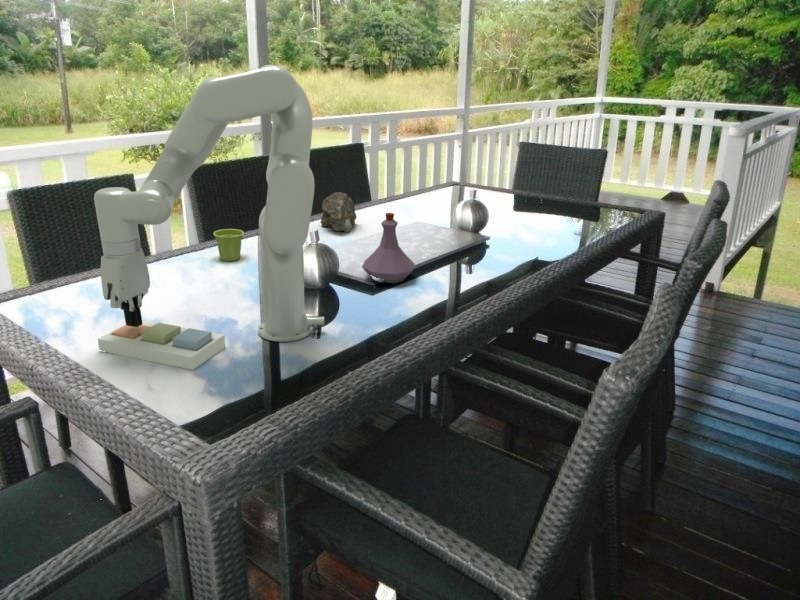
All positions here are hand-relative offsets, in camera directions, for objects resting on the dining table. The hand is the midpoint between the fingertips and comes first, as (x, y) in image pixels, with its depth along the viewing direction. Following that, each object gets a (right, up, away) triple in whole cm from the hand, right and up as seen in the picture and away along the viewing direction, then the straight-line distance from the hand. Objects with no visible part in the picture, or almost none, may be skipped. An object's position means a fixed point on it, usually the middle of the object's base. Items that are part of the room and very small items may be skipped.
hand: (134, 324), depth 141 cm
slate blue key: (+15, -4, -4) cm, 16 cm away
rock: (+36, +33, +102) cm, 113 cm away
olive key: (+7, -3, -2) cm, 8 cm away
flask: (+56, +12, +49) cm, 75 cm away
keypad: (+7, -5, -1) cm, 9 cm away
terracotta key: (-1, -3, +1) cm, 3 cm away
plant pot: (+5, +19, +62) cm, 65 cm away
